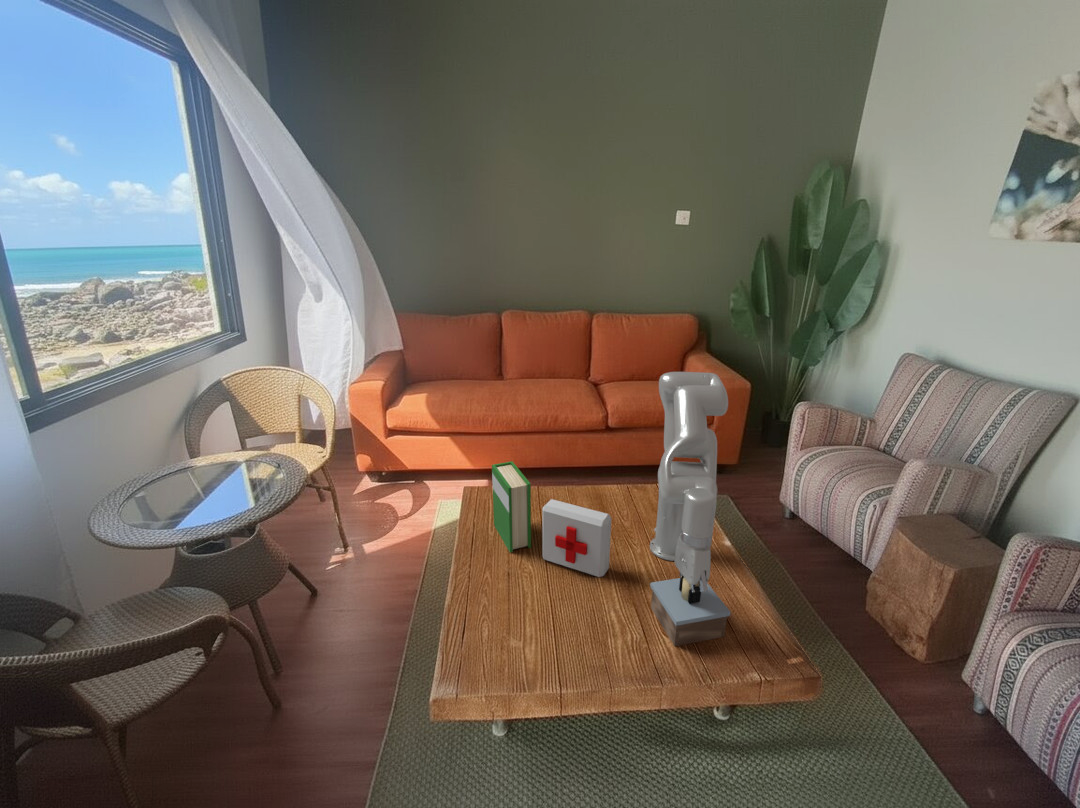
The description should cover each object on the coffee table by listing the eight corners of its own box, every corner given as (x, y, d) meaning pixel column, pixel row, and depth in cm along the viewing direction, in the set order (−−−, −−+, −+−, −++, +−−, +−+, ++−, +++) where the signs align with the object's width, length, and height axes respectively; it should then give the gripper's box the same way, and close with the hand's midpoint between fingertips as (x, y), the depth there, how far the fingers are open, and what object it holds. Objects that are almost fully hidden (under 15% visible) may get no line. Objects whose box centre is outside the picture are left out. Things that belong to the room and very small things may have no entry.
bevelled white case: (538, 563, 163) (538, 508, 156) (550, 549, 170) (550, 496, 163) (600, 583, 154) (603, 525, 147) (610, 568, 160) (613, 512, 154)
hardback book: (531, 547, 171) (530, 483, 163) (510, 553, 168) (508, 488, 160) (513, 521, 186) (512, 461, 178) (494, 525, 183) (491, 464, 175)
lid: (650, 586, 140) (651, 567, 138) (699, 578, 144) (702, 559, 142) (675, 625, 127) (678, 605, 125) (730, 615, 130) (733, 595, 128)
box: (650, 610, 143) (652, 587, 140) (696, 602, 146) (699, 579, 143) (674, 649, 130) (676, 623, 127) (723, 639, 133) (727, 614, 130)
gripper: (667, 520, 135) (661, 578, 142) (699, 558, 120) (692, 621, 126) (693, 517, 137) (686, 574, 143) (728, 554, 122) (719, 616, 128)
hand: (689, 595), depth 135 cm, fingers closed on lid, 4 cm apart
